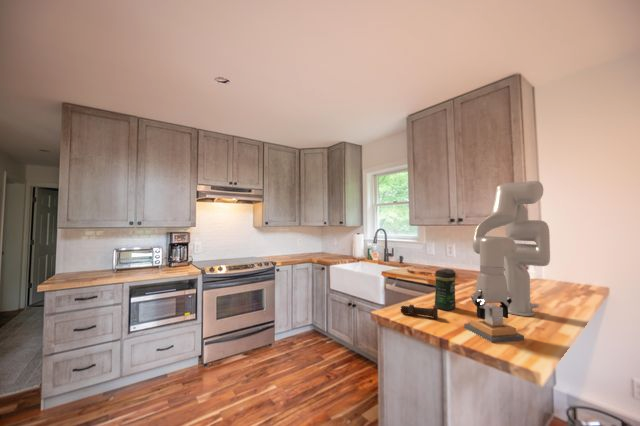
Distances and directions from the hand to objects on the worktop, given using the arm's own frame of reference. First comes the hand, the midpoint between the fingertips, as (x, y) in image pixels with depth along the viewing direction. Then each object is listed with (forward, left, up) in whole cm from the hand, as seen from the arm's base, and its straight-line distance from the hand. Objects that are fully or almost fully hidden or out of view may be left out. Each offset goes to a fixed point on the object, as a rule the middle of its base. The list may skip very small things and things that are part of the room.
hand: (492, 317), depth 98 cm
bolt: (+17, -22, -6) cm, 28 cm away
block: (0, 0, -6) cm, 6 cm away
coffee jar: (-2, -30, -6) cm, 31 cm away
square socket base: (0, 0, -6) cm, 6 cm away
